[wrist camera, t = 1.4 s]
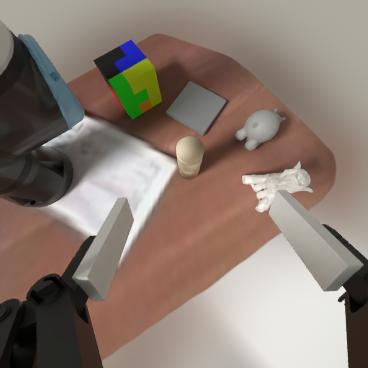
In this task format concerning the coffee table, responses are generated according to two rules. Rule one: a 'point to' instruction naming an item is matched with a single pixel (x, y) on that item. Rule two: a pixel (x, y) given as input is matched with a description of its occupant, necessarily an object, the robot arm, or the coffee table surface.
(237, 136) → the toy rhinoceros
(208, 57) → the coffee table surface
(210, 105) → the board
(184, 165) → the birch tool handle
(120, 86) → the puzzle toy
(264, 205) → the sitting furry creature
